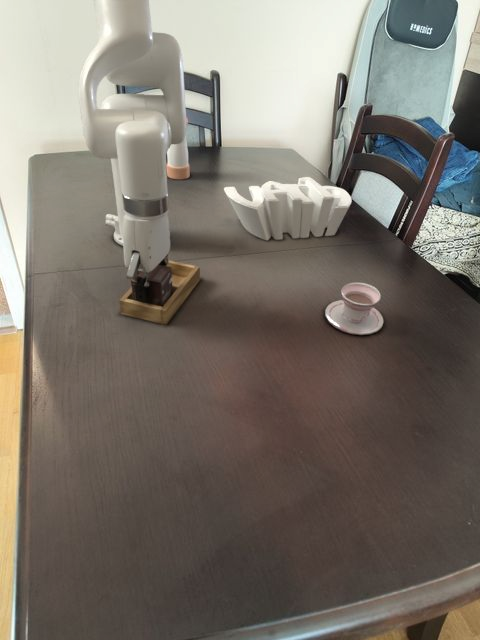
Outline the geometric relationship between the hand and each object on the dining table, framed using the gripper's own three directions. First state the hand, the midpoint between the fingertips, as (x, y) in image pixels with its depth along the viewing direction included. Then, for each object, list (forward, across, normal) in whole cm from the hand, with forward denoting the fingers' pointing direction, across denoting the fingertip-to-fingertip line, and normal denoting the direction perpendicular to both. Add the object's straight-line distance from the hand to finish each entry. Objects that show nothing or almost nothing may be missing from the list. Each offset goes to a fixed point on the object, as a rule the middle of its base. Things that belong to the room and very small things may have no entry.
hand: (152, 291), depth 89 cm
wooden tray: (+4, -4, 0) cm, 6 cm away
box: (+3, 0, 0) cm, 3 cm away
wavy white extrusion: (+4, -49, +17) cm, 52 cm away
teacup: (+4, -11, +39) cm, 41 cm away
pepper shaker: (+4, -71, -25) cm, 76 cm away
